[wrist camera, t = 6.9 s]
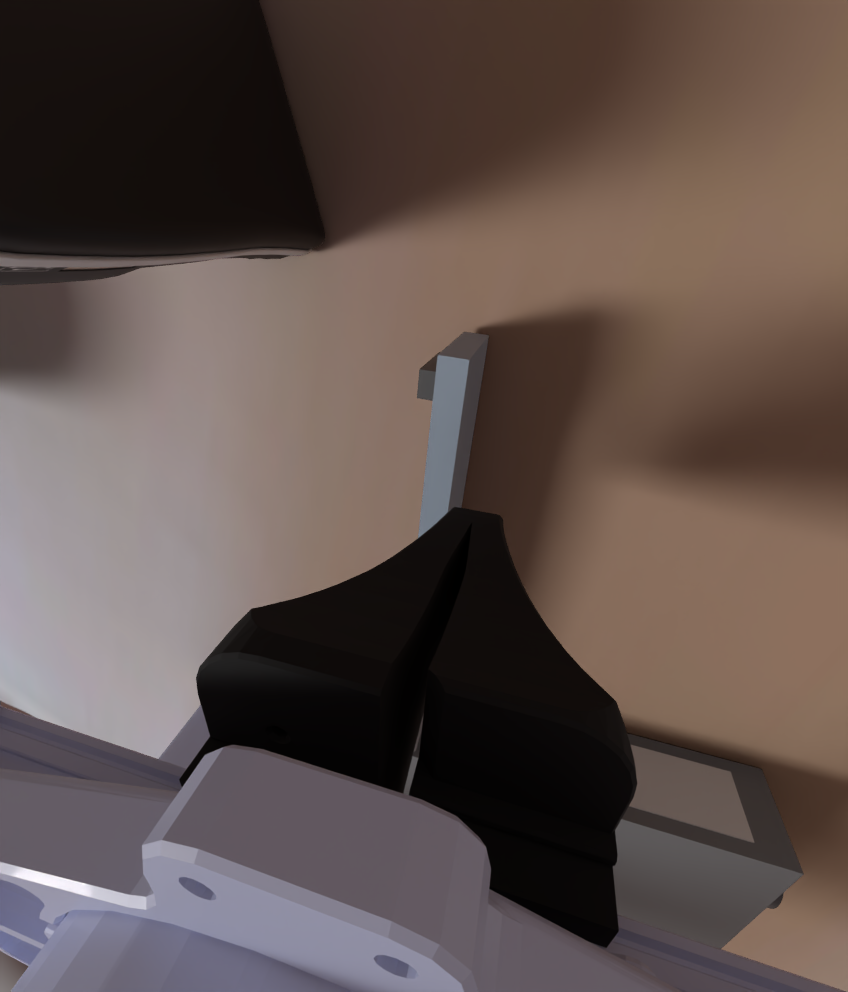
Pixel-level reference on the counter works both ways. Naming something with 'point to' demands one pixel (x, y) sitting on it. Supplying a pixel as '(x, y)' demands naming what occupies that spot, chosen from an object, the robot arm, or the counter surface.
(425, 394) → the grey bar handle
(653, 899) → the grey rectangular box
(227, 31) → the battery charger
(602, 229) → the counter surface
